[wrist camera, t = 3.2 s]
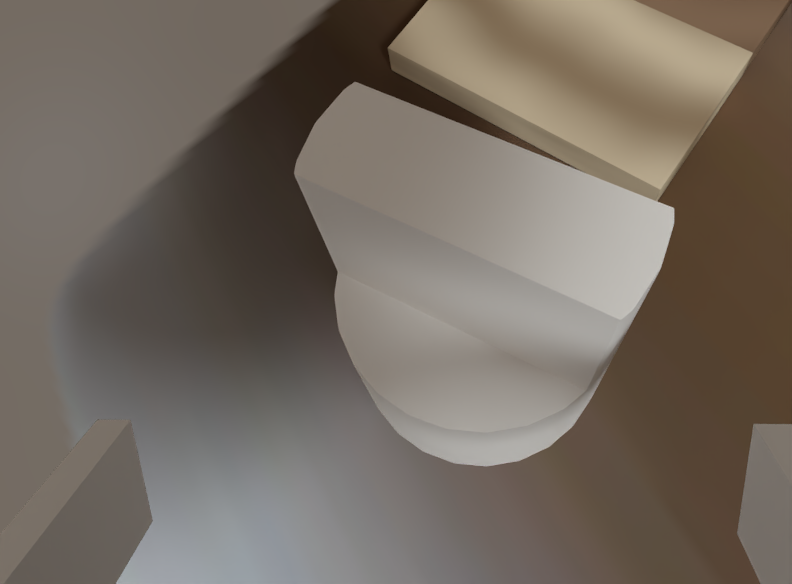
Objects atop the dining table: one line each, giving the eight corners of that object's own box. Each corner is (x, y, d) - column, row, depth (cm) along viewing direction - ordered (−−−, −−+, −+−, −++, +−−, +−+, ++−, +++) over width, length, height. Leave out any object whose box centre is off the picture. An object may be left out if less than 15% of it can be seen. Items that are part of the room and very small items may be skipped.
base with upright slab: (319, 395, 29) (216, 269, 18) (430, 207, 31) (401, -7, 20) (537, 512, 26) (575, 450, 15) (638, 298, 29) (734, 111, 18)
